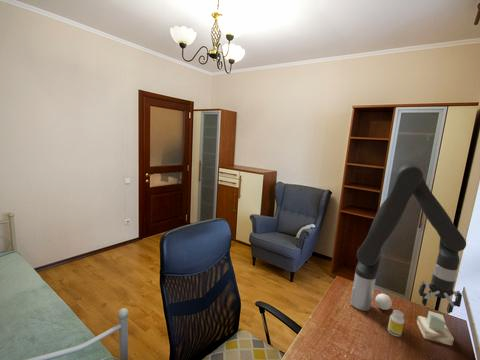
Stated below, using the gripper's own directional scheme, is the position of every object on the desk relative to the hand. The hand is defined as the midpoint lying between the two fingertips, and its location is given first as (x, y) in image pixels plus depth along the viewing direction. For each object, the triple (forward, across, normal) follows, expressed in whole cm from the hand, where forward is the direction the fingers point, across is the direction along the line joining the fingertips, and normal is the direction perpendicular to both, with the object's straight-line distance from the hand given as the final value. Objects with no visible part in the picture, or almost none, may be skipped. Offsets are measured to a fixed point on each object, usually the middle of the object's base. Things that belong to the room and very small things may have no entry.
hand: (436, 308), depth 109 cm
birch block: (+12, +1, -1) cm, 12 cm away
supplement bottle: (+12, -15, -9) cm, 21 cm away
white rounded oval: (+12, -19, +5) cm, 23 cm away
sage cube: (+8, +1, -1) cm, 8 cm away
